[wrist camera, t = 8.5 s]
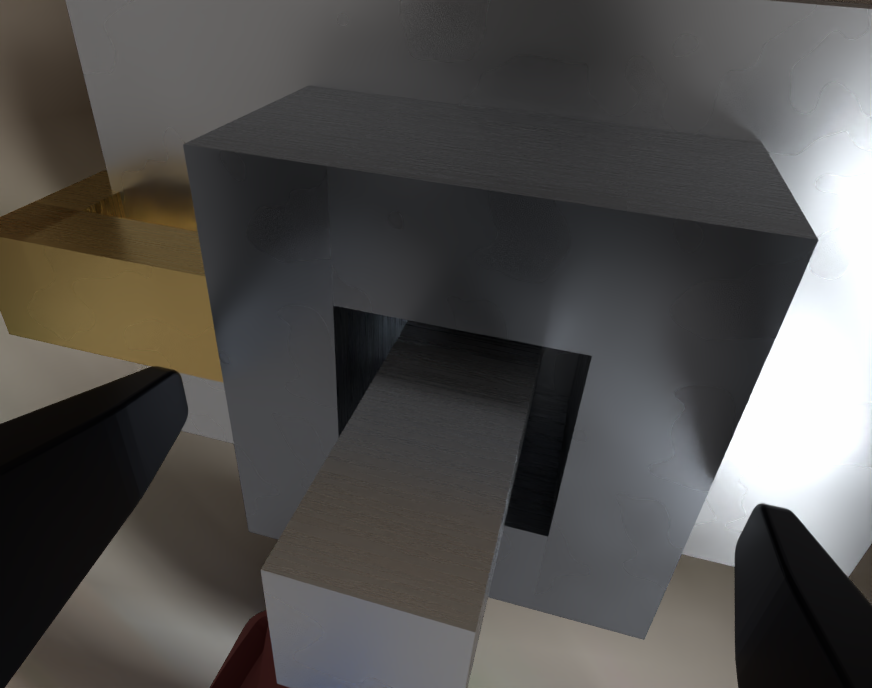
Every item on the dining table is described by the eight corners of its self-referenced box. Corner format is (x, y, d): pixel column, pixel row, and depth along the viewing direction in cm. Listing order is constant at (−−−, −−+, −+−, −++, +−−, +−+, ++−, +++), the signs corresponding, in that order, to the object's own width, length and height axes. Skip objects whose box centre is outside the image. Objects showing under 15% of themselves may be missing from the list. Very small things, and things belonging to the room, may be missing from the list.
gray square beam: (561, 265, 12) (475, 632, 6) (542, 355, 14) (455, 742, 7) (453, 244, 13) (260, 569, 6) (444, 335, 14) (277, 683, 7)
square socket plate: (1169, 29, 9) (1604, 109, 5) (827, 558, 16) (892, 774, 12) (45, -66, 12) (-237, -64, 8) (161, 399, 19) (33, 524, 15)
